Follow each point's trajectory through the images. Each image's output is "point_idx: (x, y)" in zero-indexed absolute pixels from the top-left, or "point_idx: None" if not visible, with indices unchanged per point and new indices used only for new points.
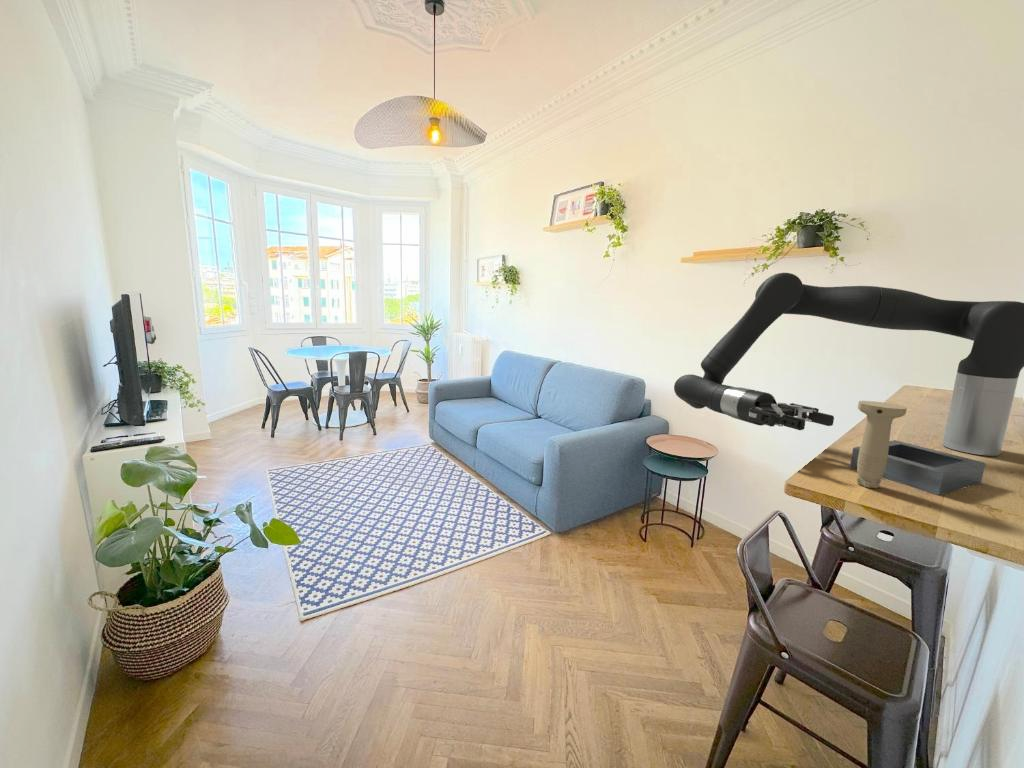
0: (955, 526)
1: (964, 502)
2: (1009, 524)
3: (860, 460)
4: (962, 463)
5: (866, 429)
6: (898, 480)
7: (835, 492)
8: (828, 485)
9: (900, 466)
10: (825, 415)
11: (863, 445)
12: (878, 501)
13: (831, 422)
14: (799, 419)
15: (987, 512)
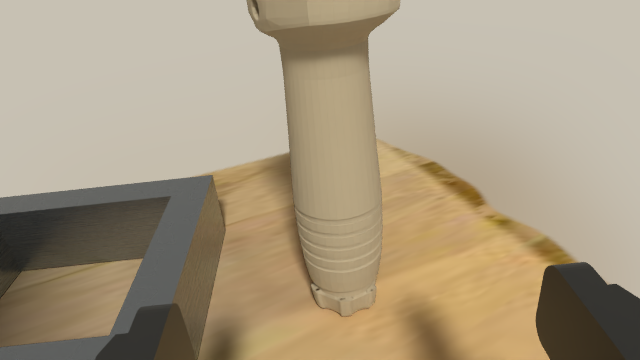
0: (382, 163)
1: (220, 206)
2: (272, 159)
3: (381, 225)
4: (42, 204)
5: (366, 104)
6: (208, 290)
7: (519, 280)
8: (499, 320)
9: (199, 249)
10: (165, 345)
11: (377, 169)
12: (431, 231)
13: (187, 336)
14: (599, 278)
15: (242, 181)
